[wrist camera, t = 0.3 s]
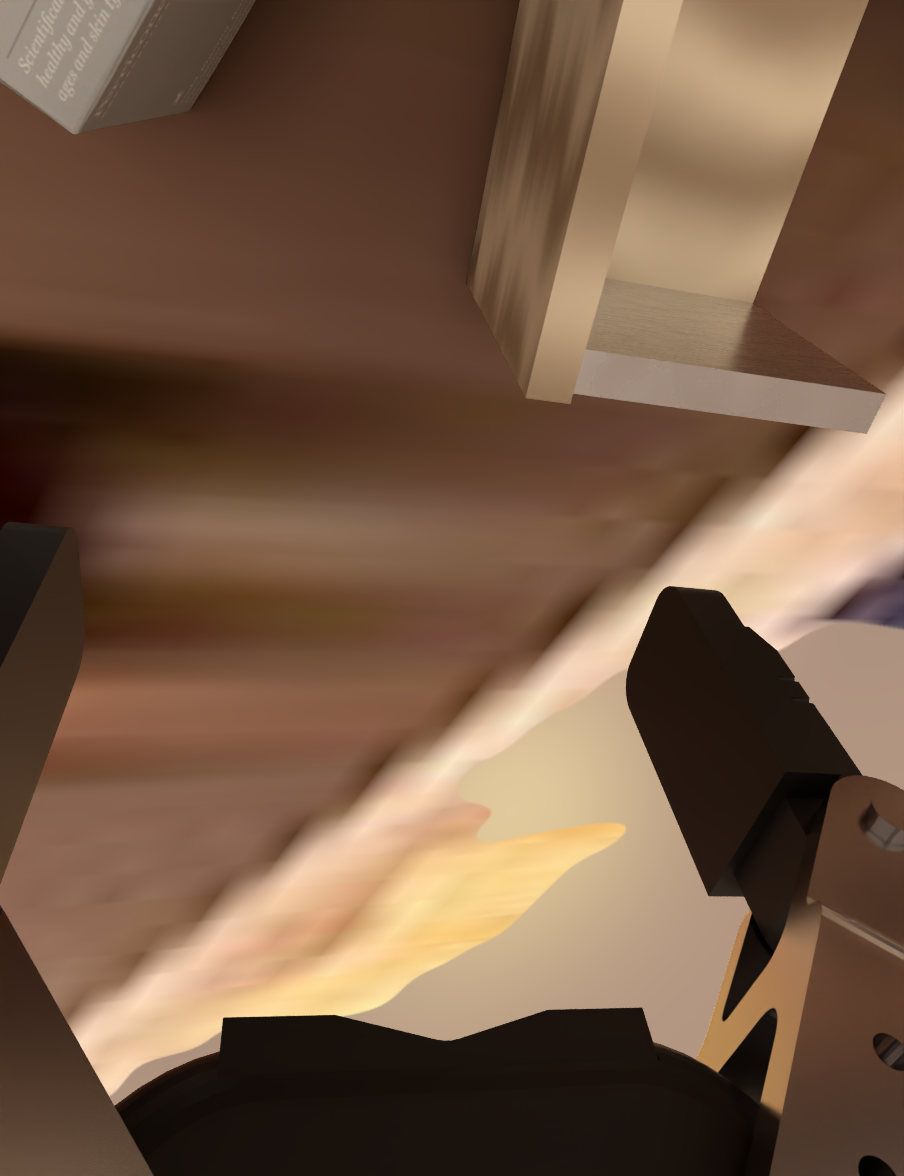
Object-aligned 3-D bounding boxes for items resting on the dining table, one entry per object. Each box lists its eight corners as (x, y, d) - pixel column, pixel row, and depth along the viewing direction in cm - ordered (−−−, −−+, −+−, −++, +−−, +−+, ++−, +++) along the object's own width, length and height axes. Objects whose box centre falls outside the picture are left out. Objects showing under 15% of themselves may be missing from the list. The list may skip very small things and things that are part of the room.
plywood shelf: (542, -119, 29) (672, -197, 18) (860, -32, 32) (1141, -56, 21) (466, 282, 37) (525, 398, 26) (728, 325, 39) (881, 445, 28)
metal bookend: (511, 262, 35) (575, 347, 26) (753, 303, 37) (886, 394, 28) (504, 297, 36) (562, 392, 27) (740, 335, 38) (866, 433, 29)
